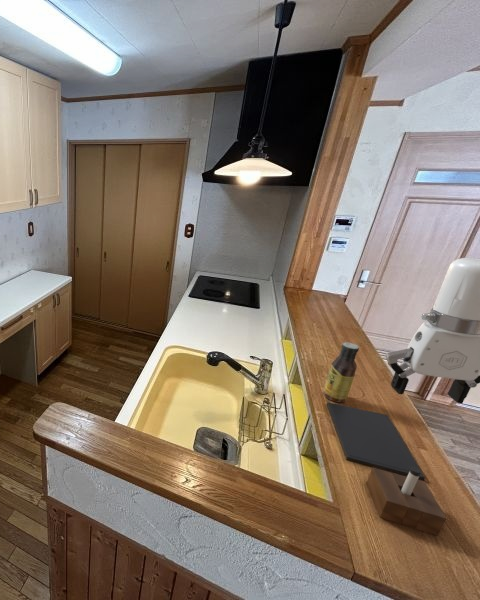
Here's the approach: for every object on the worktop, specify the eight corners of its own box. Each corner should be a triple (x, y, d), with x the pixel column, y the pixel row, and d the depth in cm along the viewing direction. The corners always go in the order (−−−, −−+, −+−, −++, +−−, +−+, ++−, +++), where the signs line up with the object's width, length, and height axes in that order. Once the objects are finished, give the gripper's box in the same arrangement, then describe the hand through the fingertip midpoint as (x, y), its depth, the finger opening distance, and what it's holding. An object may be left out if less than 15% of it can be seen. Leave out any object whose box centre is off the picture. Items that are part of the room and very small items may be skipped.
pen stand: (417, 497, 73) (425, 481, 71) (438, 536, 65) (447, 518, 63) (365, 483, 77) (372, 467, 75) (379, 517, 69) (386, 500, 67)
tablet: (386, 417, 97) (387, 414, 97) (424, 480, 77) (425, 477, 76) (326, 404, 103) (327, 401, 103) (346, 459, 83) (347, 456, 83)
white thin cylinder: (402, 505, 71) (419, 468, 67) (405, 511, 70) (422, 474, 66) (393, 503, 72) (409, 465, 68) (395, 509, 70) (412, 471, 67)
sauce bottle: (321, 389, 110) (336, 337, 103) (344, 395, 107) (361, 342, 100) (323, 400, 105) (339, 346, 98) (347, 406, 102) (365, 351, 95)
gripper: (412, 324, 62) (384, 397, 68) (535, 336, 57) (493, 414, 63) (391, 310, 69) (367, 378, 75) (500, 319, 64) (465, 392, 70)
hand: (425, 394), depth 69 cm, fingers open, 9 cm apart
